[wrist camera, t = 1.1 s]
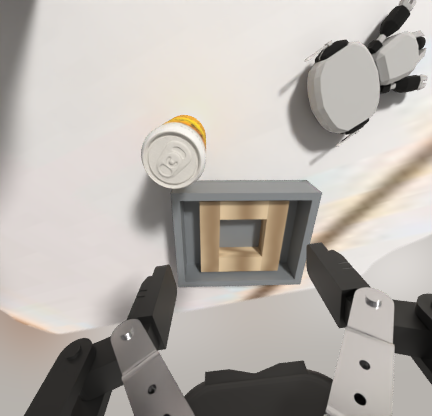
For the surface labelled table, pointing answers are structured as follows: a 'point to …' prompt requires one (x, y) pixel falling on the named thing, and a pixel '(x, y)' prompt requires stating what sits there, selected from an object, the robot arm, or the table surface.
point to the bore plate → (242, 256)
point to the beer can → (175, 152)
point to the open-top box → (243, 229)
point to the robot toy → (364, 74)
